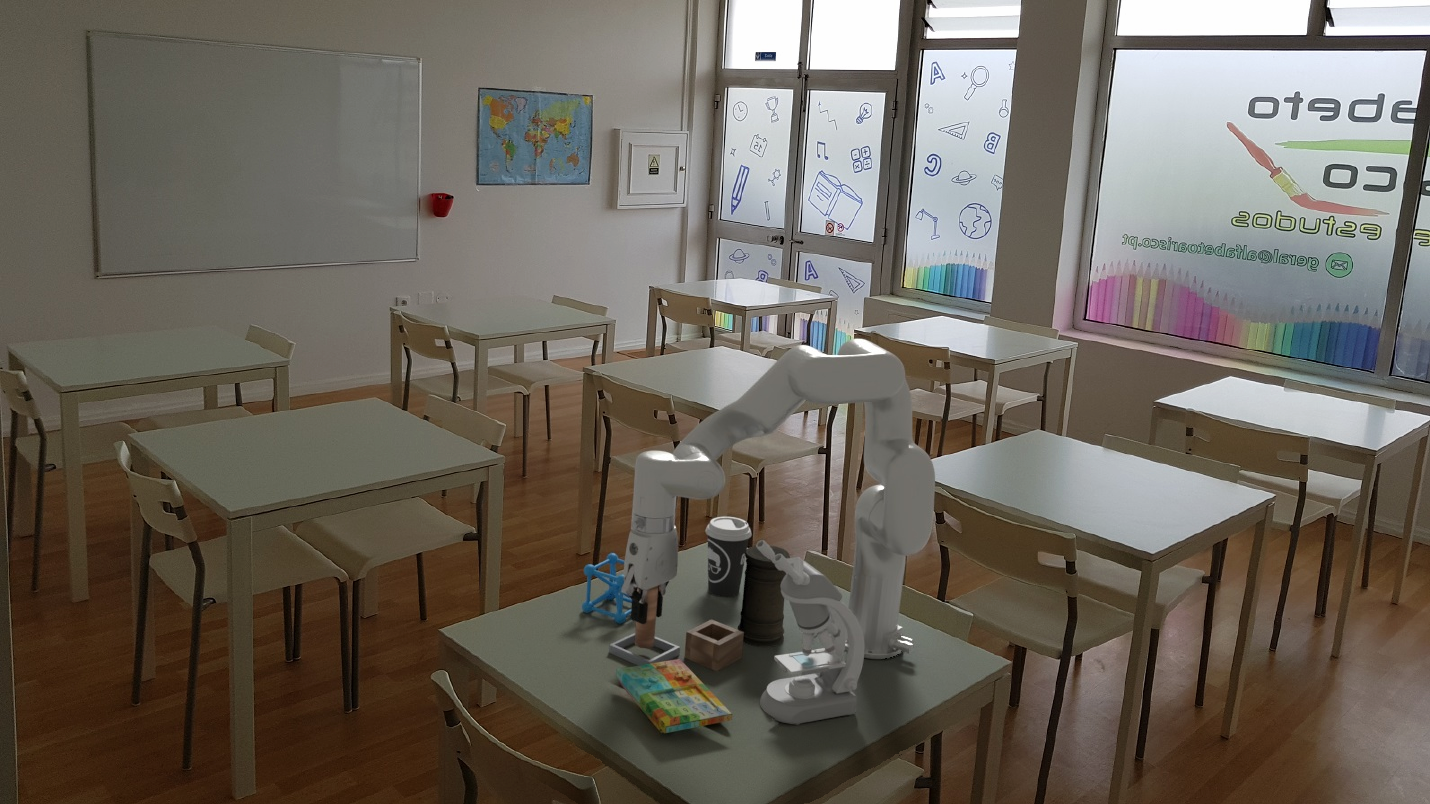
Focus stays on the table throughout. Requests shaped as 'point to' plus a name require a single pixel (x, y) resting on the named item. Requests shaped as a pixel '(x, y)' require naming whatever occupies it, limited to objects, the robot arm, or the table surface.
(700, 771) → the table surface
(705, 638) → the pin cup
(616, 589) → the molecular structure
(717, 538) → the coffee cup
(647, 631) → the dowel
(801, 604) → the microscope
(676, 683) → the puzzle game
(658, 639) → the tray
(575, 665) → the table surface
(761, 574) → the container
